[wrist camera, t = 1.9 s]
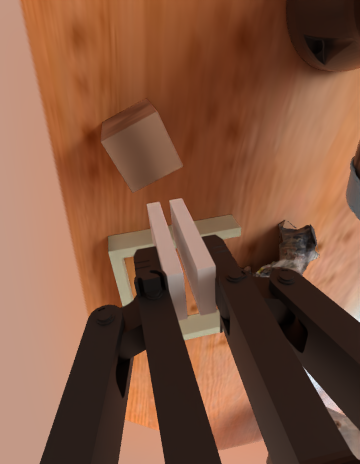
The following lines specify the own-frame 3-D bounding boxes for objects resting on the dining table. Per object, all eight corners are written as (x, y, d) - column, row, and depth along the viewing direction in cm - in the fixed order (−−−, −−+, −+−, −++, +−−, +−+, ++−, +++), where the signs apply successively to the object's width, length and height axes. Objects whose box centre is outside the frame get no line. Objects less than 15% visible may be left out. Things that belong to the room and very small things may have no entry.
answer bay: (231, 214, 46) (240, 227, 42) (229, 312, 57) (237, 328, 54) (108, 236, 43) (108, 251, 40) (133, 333, 55) (134, 351, 52)
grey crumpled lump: (213, 274, 47) (312, 265, 39) (227, 229, 54) (313, 213, 46) (240, 316, 53) (332, 316, 45) (249, 270, 60) (330, 263, 52)
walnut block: (146, 97, 35) (157, 111, 27) (168, 143, 38) (183, 166, 30) (102, 122, 35) (100, 141, 28) (127, 165, 38) (132, 193, 31)
